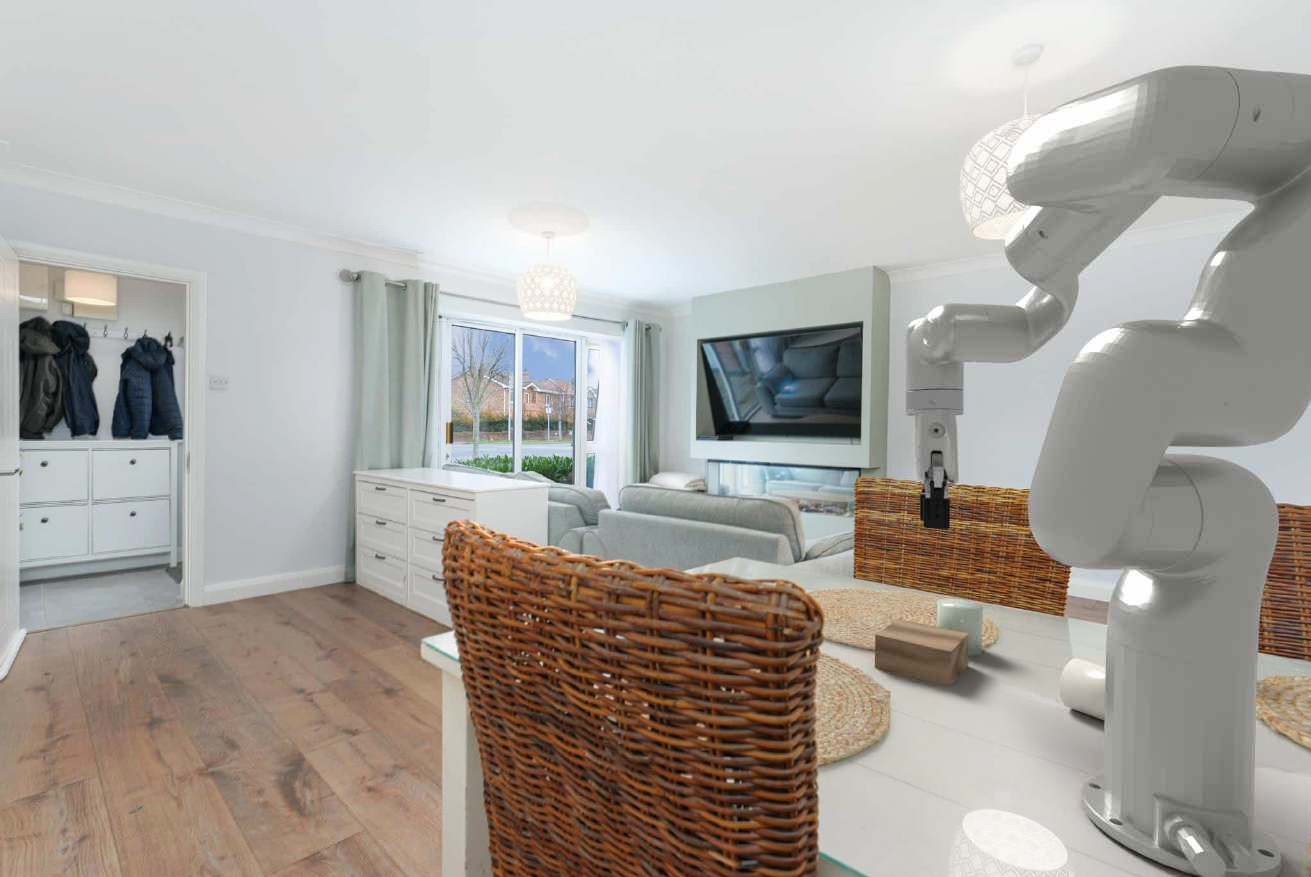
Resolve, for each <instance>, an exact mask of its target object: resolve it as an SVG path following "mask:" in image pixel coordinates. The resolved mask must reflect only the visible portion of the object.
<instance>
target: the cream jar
mask: <svg viewBox="0 0 1311 877" xmlns="http://www.w3.org/2000/svg"><path fill="white" fill-rule="evenodd" d="M1105 680H1106V666H1102V665H1100V664H1096V663H1093V662H1090V661H1087V660H1083V659H1081V658H1072V659H1071V660H1069V661H1068V662H1067V663H1066V665H1065V666H1064V668H1063V671H1062V673H1061V677H1060V680H1059V694H1060V698H1061V701H1062V702H1063V704H1064V705H1065V706H1066V707H1067V708H1069V709H1072V710H1075V711H1077V712H1081V713H1083V714H1085V715H1088V716H1091V717H1094V718H1096V719H1098V720H1101V721H1103V722H1105Z"/></svg>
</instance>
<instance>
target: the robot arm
mask: <svg viewBox="0 0 1311 877" xmlns="http://www.w3.org/2000/svg"><path fill="white" fill-rule="evenodd" d="M1005 171H1006V173H1005V180H1006V181H1005V183H1006V188H1007V190H1008V192H1009V195H1010V196H1011V197H1012V198H1013V199H1014V200H1015V201H1017V202H1018V203H1020V204H1022V205H1023V206H1029V208H1028V210H1027V211H1025V213H1024V214H1023V215H1022V216H1021V217H1020V219H1019V220H1018V221H1017V223H1015V224H1014V225H1013V226H1012V227H1011V229H1010V230H1009V231H1008V233H1007V235H1006V237H1005V240H1004V245H1003V246H1004V247H1003V248H1004V249H1003V250H1004V254H1005V257H1006V259H1007V261H1008V263H1009V265H1010V266H1011V267H1012V269H1013V270H1014V271H1015V272H1017V274H1018V275H1019V276H1020V277H1022V278H1023V279H1025V280H1026V281H1027V282H1029V283H1030V284H1032V285H1033V286H1034V287H1033V288H1032V289H1031V290H1030V291H1029V292H1028V293H1027V294H1026V295H1025V296H1024V297H1023V298H1022V299H1020V301H1018V302H1017V303H1016V304H1014V305H1008V304H1007V305H1004V304H989V303H988V304H985V303H984V304H983V303H953V302H952V303H951V302H950V303H944V304H942V305H938V306H937V307H935V308H933V310H931V311H930V312H929V313H928V314H927V315H926V316H924V317H921V318H918V319H915V320H913V321H911V322H910V323H908V324H909V325H907V328H906V333H905V334H906V336H905V337H906V338H905V341H906V342H905V359H906V360H905V415H906V416H908V417H909V416H910V417H914V452H915V453H914V454H915V468H916V475H917V476H916V477H917V481H919V482H920V483H921V493H920V494H919V520H920V521H922V522H923V525H922V526H923V527H924V528H925V529H937V530H949V529H950V526H951V523H950V522H951V518H950V517H951V511H950V510H951V509H950V508H951V504H950V503H951V498H949V484H951V485H957V484H958V483H959V458H958V456H959V455H958V454H959V453H958V449H959V448H958V445H959V444H958V425H957V416H962V415H964V414H965V413H964V412H965V411H964V407H965V406H964V402H965V401H964V399H965V398H964V394H965V393H964V390H965V389H964V388H965V385H964V384H965V382H964V379H965V378H964V377H965V375H964V374H965V373H964V372H965V367H964V366H965V365H964V364H965V363H991V364H993V363H995V364H1012V363H1016V362H1020V361H1023V360H1024V359H1026V358H1028V357H1031V356H1032V355H1034V354H1035V353H1036V352H1038V351H1039V350H1040V349H1041V348H1043V347H1044V346H1045V345H1046V344H1047V343H1048V342H1050V341H1051V340H1052V339H1053V338H1054V337H1055V336H1057V334H1059V333H1060V332H1061V331H1062V330H1063V329H1064V327H1065V326H1066V325H1067V324H1068V322H1069V320H1070V318H1071V316H1072V314H1073V312H1074V309H1075V306H1076V303H1077V301H1078V296H1079V288H1080V283H1079V275H1080V274H1081V273H1082V272H1083V271H1084V270H1085V269H1086V268H1088V266H1089V265H1090V264H1091V263H1093V262H1094V261H1095V260H1096V259H1097V258H1098V257H1099V256H1100V255H1101V254H1102V253H1103V252H1104V251H1105V250H1106V249H1107V248H1109V247H1110V246H1111V245H1112V244H1113V242H1115V241H1116V240H1117V239H1119V237H1121V236H1122V234H1124V232H1125V231H1127V230H1128V229H1129V228H1130V227H1131V226H1132V225H1133V224H1134V223H1136V221H1138V219H1139V218H1140V217H1142V216H1143V215H1144V214H1145V213H1146V212H1147V211H1148V210H1149V209H1150V208H1151V207H1153V205H1155V203H1156V202H1158V200H1160V199H1161V197H1163V196H1165V197H1176V198H1177V197H1178V198H1181V197H1182V198H1191V199H1193V198H1194V199H1205V200H1208V199H1214V200H1231V201H1241V202H1247V203H1249V204H1251V205H1253V206H1254V210H1252V211H1251V212H1249V213H1248V215H1246V216H1245V217H1244V218H1242V219H1241V220H1240V221H1239V222H1238V223H1237V224H1236V225H1235V226H1233V228H1232V229H1231V230H1230V231H1228V233H1226V235H1225V237H1224V238H1223V239H1222V240H1221V241H1220V242H1219V243H1218V245H1217V246H1216V247H1215V249H1214V250H1213V251H1212V253H1211V254H1210V256H1209V257H1208V260H1206V263H1205V264H1204V266H1203V268H1202V270H1201V274H1200V276H1199V280H1198V283H1197V285H1196V288H1195V291H1194V294H1193V297H1192V299H1191V300H1190V303H1189V305H1188V307H1187V309H1186V311H1185V313H1184V315H1183V316H1182V318H1181V319H1180V320H1171V319H1138V320H1131V321H1126V322H1122V323H1119V324H1116V325H1113V326H1111V327H1109V328H1107V329H1105V330H1103V331H1101V332H1099V333H1098V334H1097V335H1095V336H1094V337H1093V338H1091V339H1090V340H1089V341H1088V342H1087V343H1086V344H1085V345H1084V346H1083V347H1082V348H1081V349H1080V351H1079V352H1078V353H1077V355H1076V356H1075V357H1074V359H1073V360H1072V362H1071V363H1070V364H1069V367H1068V369H1067V371H1066V372H1065V375H1064V378H1063V380H1062V382H1061V385H1060V389H1059V392H1058V396H1057V398H1056V401H1055V404H1054V408H1053V412H1052V415H1051V418H1050V420H1049V424H1048V427H1047V430H1046V434H1045V437H1044V440H1043V444H1042V446H1041V450H1040V453H1039V457H1038V460H1037V463H1036V467H1035V470H1034V473H1033V477H1032V480H1031V484H1030V489H1029V493H1028V499H1027V514H1028V517H1027V518H1028V523H1029V528H1030V531H1031V534H1032V535H1033V538H1034V540H1035V542H1036V543H1037V544H1038V546H1039V547H1040V549H1041V550H1042V551H1043V552H1044V553H1045V554H1046V555H1047V556H1049V557H1050V558H1052V559H1053V560H1054V561H1056V562H1059V563H1061V564H1064V565H1065V566H1067V567H1073V568H1077V569H1083V570H1097V571H1099V570H1103V571H1113V570H1115V571H1121V570H1123V572H1122V573H1121V575H1119V578H1118V579H1117V582H1116V584H1115V586H1114V589H1113V591H1112V594H1111V597H1110V598H1109V599H1110V600H1109V604H1108V608H1107V609H1108V610H1107V618H1106V641H1105V643H1106V644H1105V648H1106V649H1105V667H1106V680H1105V721H1104V731H1103V733H1104V734H1103V736H1104V737H1103V772H1102V774H1103V775H1101V776H1096V777H1093V778H1090V779H1088V780H1087V781H1085V782H1084V783H1083V784H1082V788H1081V790H1080V792H1081V794H1080V795H1081V796H1080V801H1081V802H1080V803H1081V805H1082V808H1083V810H1084V812H1085V813H1086V815H1087V816H1088V818H1089V819H1090V820H1091V821H1092V822H1093V823H1094V824H1095V825H1096V826H1097V827H1098V828H1100V829H1101V830H1102V831H1103V832H1104V833H1105V834H1107V835H1108V836H1110V837H1111V839H1114V840H1115V841H1117V842H1118V843H1120V844H1122V845H1124V846H1125V847H1126V848H1128V849H1130V850H1132V851H1134V852H1136V853H1138V854H1139V855H1140V856H1141V855H1142V856H1144V857H1145V858H1148V859H1150V860H1151V861H1152V860H1153V861H1155V862H1157V863H1159V864H1161V865H1164V866H1166V867H1170V868H1172V869H1174V870H1177V871H1180V872H1183V873H1187V874H1190V875H1194V876H1197V877H1278V876H1279V874H1280V872H1281V870H1282V854H1281V853H1282V852H1281V850H1280V848H1279V846H1278V845H1277V843H1276V842H1275V841H1274V840H1273V839H1272V837H1271V836H1270V835H1269V834H1268V833H1267V832H1265V831H1264V830H1263V829H1262V828H1261V827H1260V826H1258V824H1256V823H1255V822H1254V819H1255V818H1254V815H1255V814H1254V813H1255V809H1254V808H1255V776H1256V774H1255V773H1256V772H1255V771H1256V769H1255V768H1256V761H1255V760H1256V738H1257V737H1256V732H1257V731H1256V728H1257V691H1258V690H1257V688H1258V662H1259V641H1260V640H1259V638H1260V637H1259V636H1260V620H1261V619H1260V617H1261V606H1262V600H1263V595H1264V594H1263V593H1264V588H1265V585H1266V580H1267V576H1268V572H1269V569H1270V566H1271V563H1272V559H1273V557H1274V552H1275V550H1276V546H1277V542H1278V536H1279V527H1280V518H1279V509H1278V506H1277V502H1276V500H1275V497H1274V495H1273V494H1272V492H1271V490H1270V488H1269V487H1268V486H1267V485H1266V484H1265V483H1264V482H1263V480H1261V478H1260V477H1258V476H1257V475H1256V474H1254V473H1253V472H1252V471H1250V470H1249V469H1248V468H1245V467H1244V466H1242V465H1240V464H1238V463H1235V462H1232V461H1229V460H1227V459H1224V458H1218V457H1214V456H1210V455H1209V456H1208V455H1201V454H1191V453H1189V454H1188V453H1166V451H1167V449H1168V448H1169V447H1181V448H1183V447H1186V448H1187V447H1191V448H1192V447H1193V448H1238V447H1240V448H1241V447H1249V446H1258V445H1262V444H1266V443H1270V442H1273V441H1275V440H1277V439H1279V438H1281V437H1282V436H1284V435H1286V434H1288V433H1289V432H1290V431H1291V430H1292V429H1293V428H1294V427H1295V426H1296V425H1297V423H1299V421H1300V420H1301V418H1302V417H1303V415H1304V414H1305V412H1306V410H1307V409H1308V406H1309V405H1310V403H1311V74H1306V73H1296V72H1285V71H1271V70H1266V71H1265V70H1257V69H1255V70H1254V69H1246V68H1245V69H1244V68H1237V67H1226V66H1225V67H1224V66H1218V65H1216V66H1215V65H1177V66H1175V65H1174V66H1171V67H1165V68H1160V69H1157V70H1153V71H1149V72H1146V73H1144V74H1140V75H1138V76H1135V77H1132V78H1129V79H1127V80H1124V81H1120V82H1119V83H1116V84H1114V85H1111V86H1108V87H1105V88H1102V89H1100V90H1096V91H1094V92H1091V93H1089V94H1085V95H1083V96H1081V97H1077V98H1075V99H1072V100H1069V101H1067V102H1064V103H1062V104H1061V105H1060V104H1059V105H1058V106H1056V107H1055V108H1052V109H1051V110H1049V111H1047V112H1046V113H1045V114H1043V115H1042V116H1041V117H1039V118H1038V119H1037V120H1035V122H1033V123H1032V124H1031V125H1030V126H1029V127H1028V128H1027V129H1026V130H1025V132H1024V133H1023V134H1022V136H1021V137H1020V138H1019V139H1018V141H1017V143H1016V145H1015V146H1014V148H1013V150H1012V152H1011V154H1010V157H1009V159H1008V162H1007V167H1006V169H1005Z"/></svg>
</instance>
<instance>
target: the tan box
mask: <svg viewBox="0 0 1311 877" xmlns="http://www.w3.org/2000/svg"><path fill="white" fill-rule="evenodd" d="M874 635H875V638H874V639H875V640H874V668H876V669H880V670H883V671H887V672H891V673H895V674H899V675H902V676H906V677H909V678H914V679H916V680H921V681H925V682H929V683H933V684H937V685H941V686H944V687H948V688H950V687H951V686H952V685H953V684H954V683H955V682H956V680H957V679H958V678H959V677H960V675H962V673H963V672H964V671H965V670H966V668H968V666H969V656H968V640H969V634H968V633H963V632H959V631H954V630H949V629H944V628H939V627H937V626H933V625H930V624H929V625H928V624H924V623H920V622H913V621H909V620H903V619H899V618H898V619H897V620H895V621H893V622H892V623H890V624H888V625H887V626H886V627H884V628H883V629H882V630H879V632H877V633H875V634H874Z"/></svg>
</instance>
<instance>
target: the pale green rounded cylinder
mask: <svg viewBox="0 0 1311 877" xmlns="http://www.w3.org/2000/svg"><path fill="white" fill-rule="evenodd" d="M936 603H937V607H936V609H937V610H936V627H939V628H944V629H949V630H954V631H959V632H963V633H968V634H969V640H968V657H975V656H980V655H981V654H983V650H982V649H983V618H984V617H983V616H984V615H983V608H984V606H983V605H981V604H980V603H977V602H975V601H970V600H964V599H961V598H960V599H958V598H942V599H938V600H937V601H936Z"/></svg>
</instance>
